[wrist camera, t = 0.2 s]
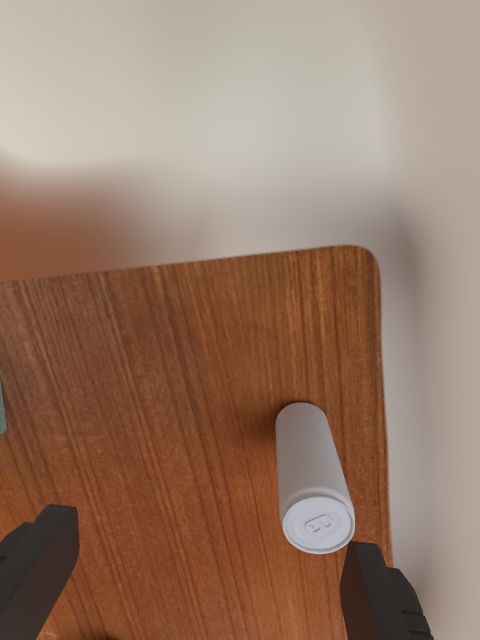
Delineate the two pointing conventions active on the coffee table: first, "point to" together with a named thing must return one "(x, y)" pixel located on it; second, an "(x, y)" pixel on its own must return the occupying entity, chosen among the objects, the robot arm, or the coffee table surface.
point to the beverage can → (311, 482)
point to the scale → (2, 413)
